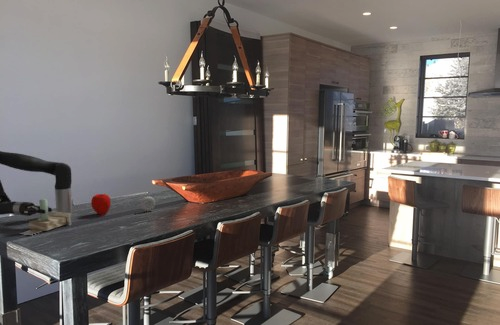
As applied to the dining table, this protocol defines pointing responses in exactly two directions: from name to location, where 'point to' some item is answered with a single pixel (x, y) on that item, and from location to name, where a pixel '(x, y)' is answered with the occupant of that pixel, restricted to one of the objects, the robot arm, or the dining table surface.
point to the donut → (145, 200)
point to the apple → (101, 203)
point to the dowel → (44, 205)
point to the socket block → (47, 223)
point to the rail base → (52, 213)
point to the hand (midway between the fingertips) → (48, 210)
